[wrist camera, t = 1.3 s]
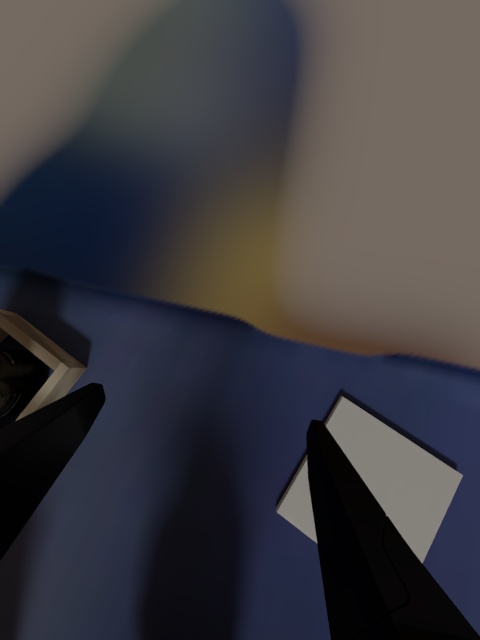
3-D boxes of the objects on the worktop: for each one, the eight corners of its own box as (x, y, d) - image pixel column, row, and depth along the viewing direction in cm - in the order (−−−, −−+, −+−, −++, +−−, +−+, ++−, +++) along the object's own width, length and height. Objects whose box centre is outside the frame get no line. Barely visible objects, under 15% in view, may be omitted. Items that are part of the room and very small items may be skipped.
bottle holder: (15, 460, 23) (-12, 471, 21) (-55, 396, 25) (-88, 399, 22) (86, 367, 25) (68, 367, 22) (16, 313, 26) (-8, 307, 24)
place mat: (396, 601, 20) (401, 608, 19) (276, 508, 21) (276, 512, 21) (457, 472, 21) (463, 475, 21) (340, 395, 23) (342, 396, 22)
